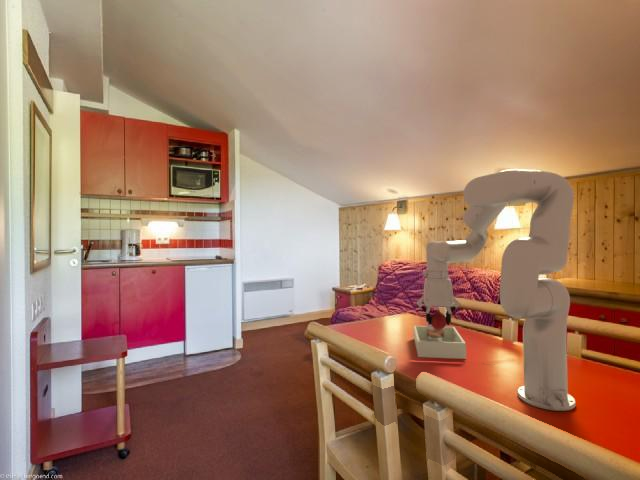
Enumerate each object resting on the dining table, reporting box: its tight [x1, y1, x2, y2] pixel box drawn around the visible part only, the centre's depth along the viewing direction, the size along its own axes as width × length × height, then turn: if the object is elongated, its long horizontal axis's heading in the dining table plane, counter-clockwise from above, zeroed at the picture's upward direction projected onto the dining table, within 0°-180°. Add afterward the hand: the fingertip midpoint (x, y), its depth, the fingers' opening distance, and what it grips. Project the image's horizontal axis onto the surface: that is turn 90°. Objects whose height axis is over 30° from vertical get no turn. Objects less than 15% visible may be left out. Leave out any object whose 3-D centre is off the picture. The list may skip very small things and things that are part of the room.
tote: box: [413, 325, 467, 360], centre depth 131 cm, size 22×16×6 cm
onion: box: [431, 308, 447, 331], centre depth 126 cm, size 6×6×8 cm
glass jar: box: [426, 322, 444, 342], centre depth 137 cm, size 6×6×9 cm
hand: (438, 323), depth 126 cm, fingers closed on onion, 5 cm apart
